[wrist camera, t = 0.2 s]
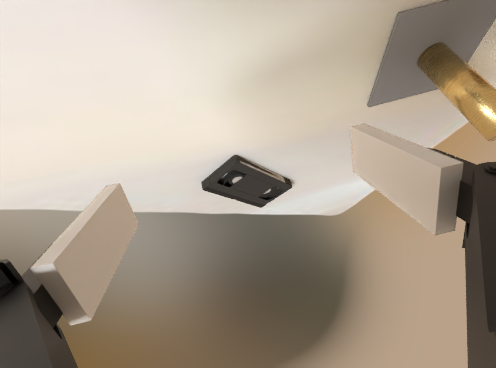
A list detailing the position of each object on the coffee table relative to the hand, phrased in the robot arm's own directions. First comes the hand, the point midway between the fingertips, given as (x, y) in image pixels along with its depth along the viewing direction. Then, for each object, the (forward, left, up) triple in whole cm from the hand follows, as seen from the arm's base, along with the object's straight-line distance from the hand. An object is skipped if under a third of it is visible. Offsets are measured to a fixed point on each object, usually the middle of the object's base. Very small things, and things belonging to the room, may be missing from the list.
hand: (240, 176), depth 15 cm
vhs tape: (+26, +1, -17) cm, 31 cm away
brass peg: (+9, +25, -15) cm, 31 cm away
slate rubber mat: (+9, +25, -16) cm, 31 cm away
